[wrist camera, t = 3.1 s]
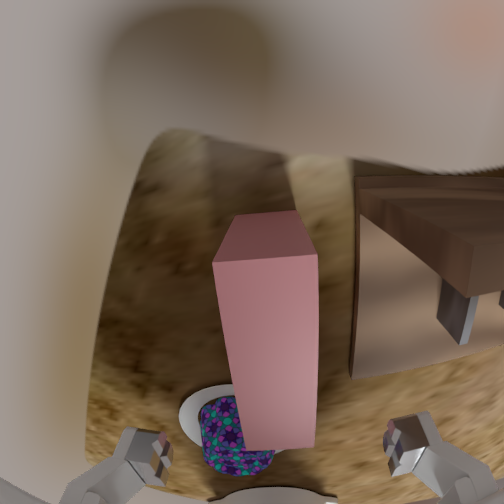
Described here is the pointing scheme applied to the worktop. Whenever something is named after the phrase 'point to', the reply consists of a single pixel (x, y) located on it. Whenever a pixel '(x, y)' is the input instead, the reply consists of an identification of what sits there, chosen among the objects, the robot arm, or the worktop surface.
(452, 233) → the shelf stand
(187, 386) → the worktop surface
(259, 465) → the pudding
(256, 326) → the book
